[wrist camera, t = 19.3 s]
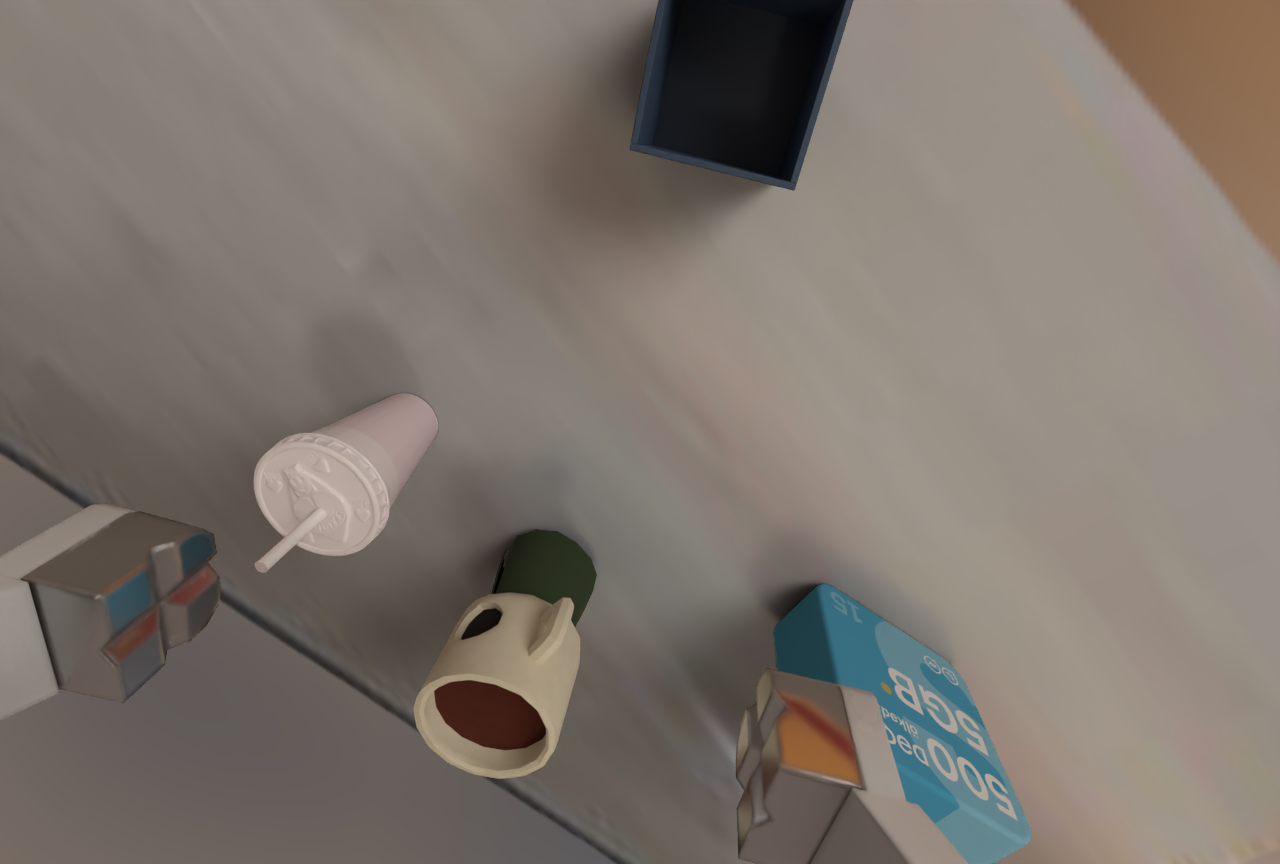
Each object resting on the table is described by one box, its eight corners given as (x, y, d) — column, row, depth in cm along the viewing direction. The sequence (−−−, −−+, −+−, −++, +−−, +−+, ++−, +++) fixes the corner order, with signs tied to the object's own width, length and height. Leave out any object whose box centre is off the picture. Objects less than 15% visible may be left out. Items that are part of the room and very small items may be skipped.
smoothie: (396, 480, 40) (244, 633, 27) (338, 394, 38) (146, 517, 25) (478, 447, 38) (357, 595, 26) (423, 355, 36) (261, 466, 23)
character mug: (555, 479, 39) (480, 624, 27) (644, 545, 40) (610, 711, 28) (466, 582, 43) (369, 745, 31) (549, 638, 44) (485, 816, 32)
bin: (650, 149, 30) (683, -6, 27) (778, 181, 30) (824, 28, 27) (629, 149, 23) (669, -57, 21) (794, 190, 23) (857, -12, 20)
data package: (959, 666, 41) (1045, 855, 30) (909, 704, 42) (973, 895, 32) (814, 572, 39) (849, 736, 28) (769, 616, 41) (786, 785, 30)
